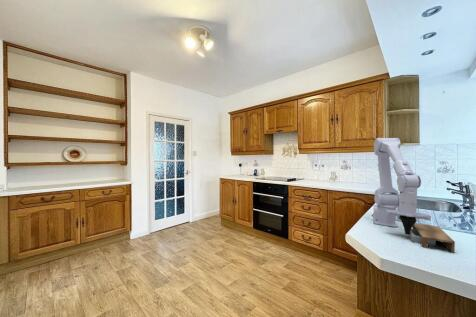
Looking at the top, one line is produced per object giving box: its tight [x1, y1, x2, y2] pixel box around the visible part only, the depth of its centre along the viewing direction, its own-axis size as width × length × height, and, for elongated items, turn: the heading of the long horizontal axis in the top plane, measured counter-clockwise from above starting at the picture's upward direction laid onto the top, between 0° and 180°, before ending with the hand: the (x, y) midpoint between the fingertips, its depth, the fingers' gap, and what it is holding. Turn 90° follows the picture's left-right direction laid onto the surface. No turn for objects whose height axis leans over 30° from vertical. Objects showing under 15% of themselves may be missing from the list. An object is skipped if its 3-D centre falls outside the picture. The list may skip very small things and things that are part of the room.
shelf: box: [411, 222, 456, 254], centre depth 83 cm, size 9×18×4 cm, turn 149°
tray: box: [408, 228, 437, 247], centre depth 85 cm, size 7×10×3 cm
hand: (406, 233), depth 87 cm, fingers closed
